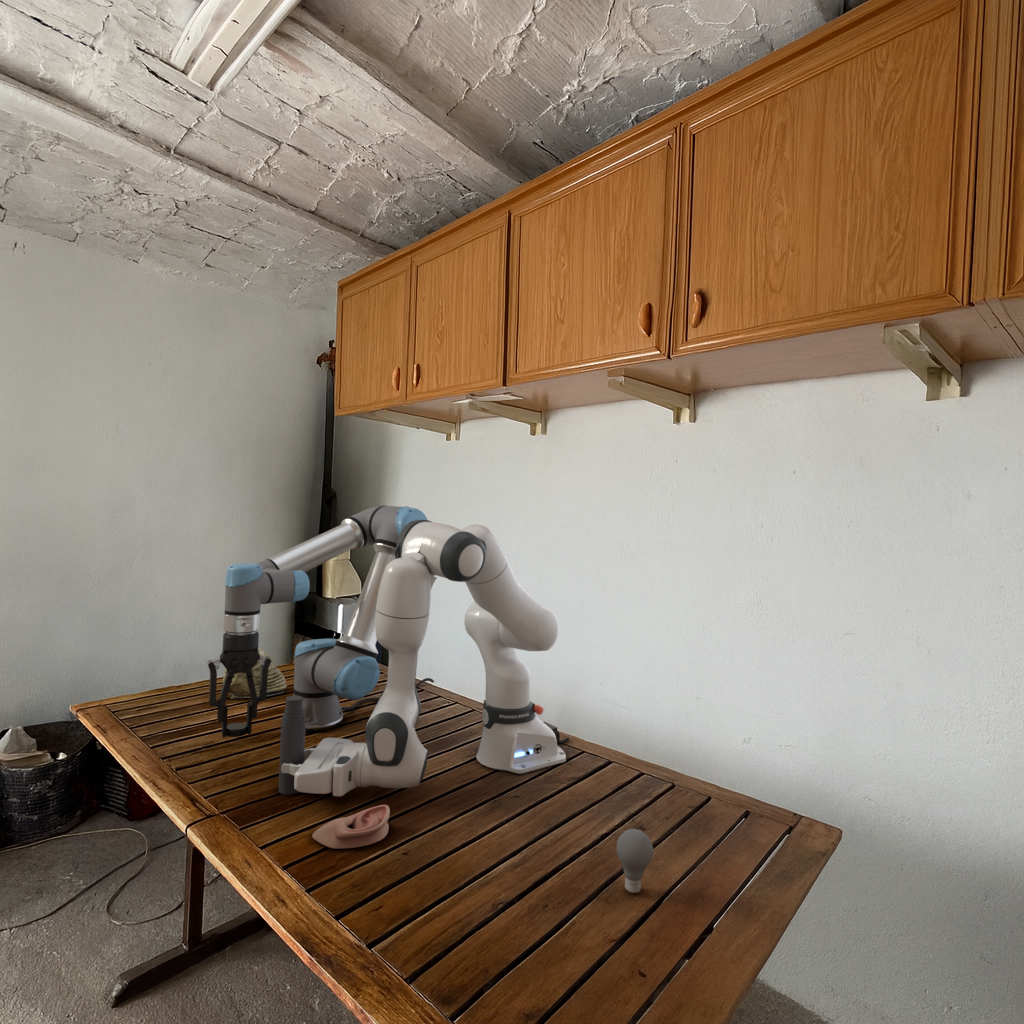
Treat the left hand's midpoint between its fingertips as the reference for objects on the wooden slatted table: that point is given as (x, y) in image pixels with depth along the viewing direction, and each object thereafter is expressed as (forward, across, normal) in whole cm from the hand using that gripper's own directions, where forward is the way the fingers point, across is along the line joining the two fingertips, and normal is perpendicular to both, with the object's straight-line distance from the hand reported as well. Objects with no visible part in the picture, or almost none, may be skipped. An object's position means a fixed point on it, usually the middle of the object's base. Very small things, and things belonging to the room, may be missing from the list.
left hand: (236, 733), depth 145 cm
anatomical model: (+8, +16, -38) cm, 42 cm away
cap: (-1, 0, 0) cm, 1 cm away
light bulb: (+8, +53, -75) cm, 93 cm away
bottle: (+8, +10, -15) cm, 20 cm away
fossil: (+8, +11, +55) cm, 57 cm away
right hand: (+2, +9, -14) cm, 17 cm away
